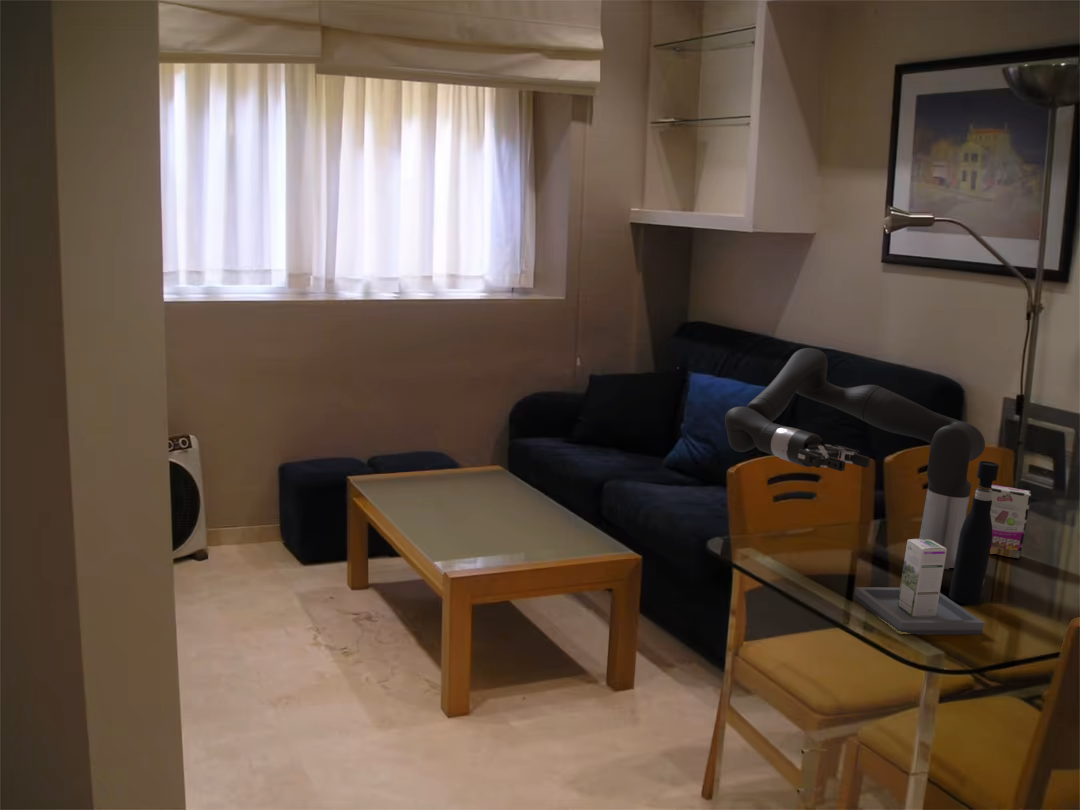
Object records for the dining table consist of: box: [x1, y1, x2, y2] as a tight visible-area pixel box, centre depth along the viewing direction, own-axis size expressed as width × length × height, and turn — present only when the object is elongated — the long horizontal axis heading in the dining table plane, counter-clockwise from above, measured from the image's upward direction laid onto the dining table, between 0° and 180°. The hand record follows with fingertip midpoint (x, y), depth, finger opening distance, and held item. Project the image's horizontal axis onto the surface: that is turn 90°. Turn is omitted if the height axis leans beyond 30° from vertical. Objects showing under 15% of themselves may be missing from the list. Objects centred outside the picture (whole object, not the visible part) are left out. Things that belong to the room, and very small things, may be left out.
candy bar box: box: [990, 484, 1032, 552], centre depth 267 cm, size 11×5×16 cm, turn 68°
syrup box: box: [897, 538, 947, 617], centre depth 219 cm, size 6×6×14 cm
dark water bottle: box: [948, 460, 1000, 606], centre depth 231 cm, size 6×6×30 cm
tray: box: [853, 586, 985, 636], centre depth 221 cm, size 18×18×2 cm
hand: (856, 464), depth 233 cm, fingers open, 8 cm apart
